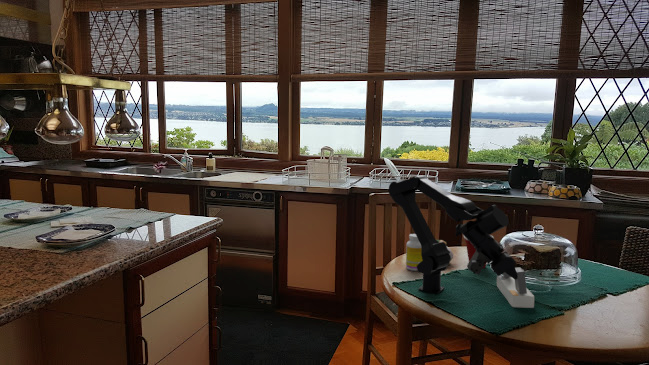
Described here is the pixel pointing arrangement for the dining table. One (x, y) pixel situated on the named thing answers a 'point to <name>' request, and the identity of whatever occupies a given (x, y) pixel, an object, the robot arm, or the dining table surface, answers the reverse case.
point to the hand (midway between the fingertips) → (516, 278)
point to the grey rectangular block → (520, 281)
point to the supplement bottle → (413, 253)
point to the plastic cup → (471, 249)
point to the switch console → (514, 293)
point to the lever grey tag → (506, 275)
